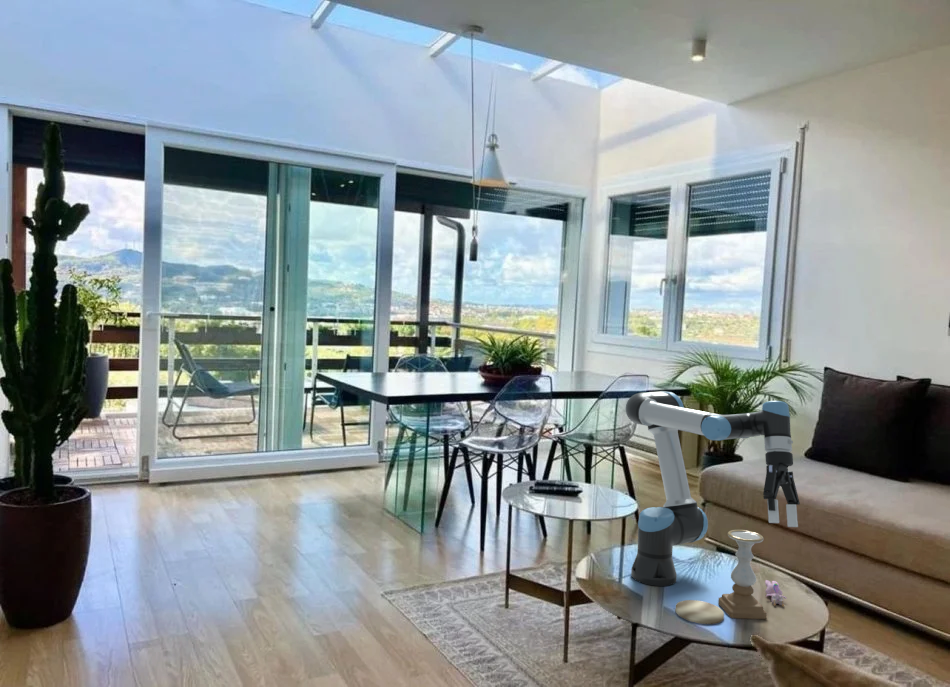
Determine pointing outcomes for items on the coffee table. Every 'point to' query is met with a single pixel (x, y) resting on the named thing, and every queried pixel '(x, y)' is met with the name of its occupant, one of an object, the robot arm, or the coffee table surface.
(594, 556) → the coffee table surface
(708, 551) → the coffee table surface
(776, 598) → the purple toy figure
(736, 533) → the candle holder
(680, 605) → the hub disc
